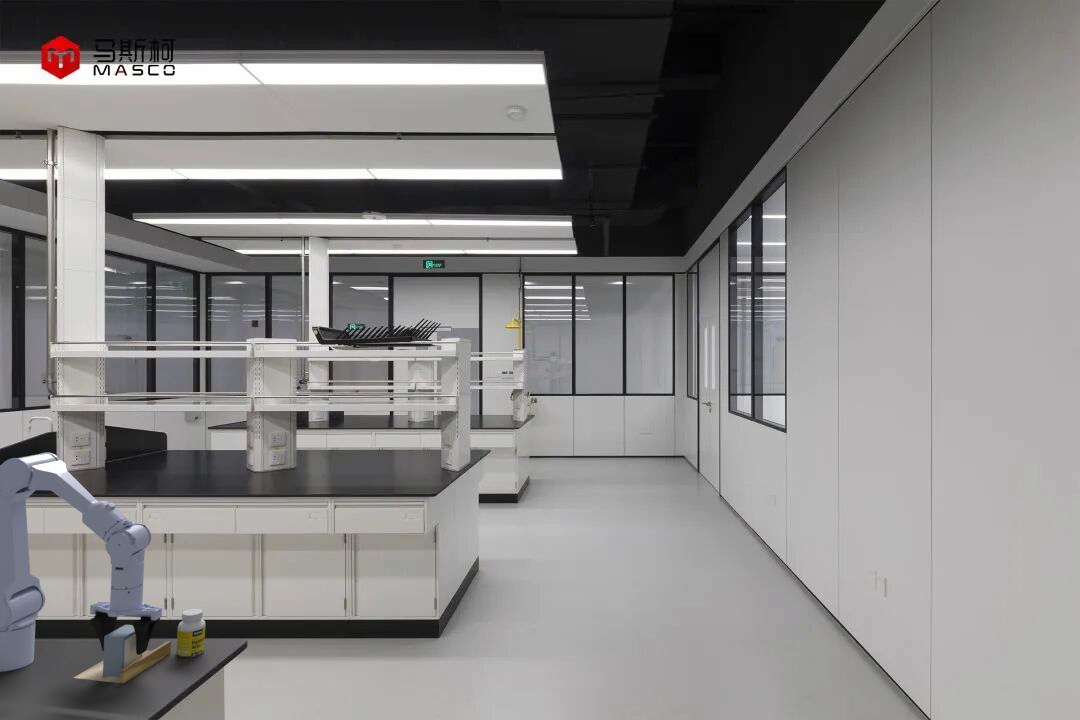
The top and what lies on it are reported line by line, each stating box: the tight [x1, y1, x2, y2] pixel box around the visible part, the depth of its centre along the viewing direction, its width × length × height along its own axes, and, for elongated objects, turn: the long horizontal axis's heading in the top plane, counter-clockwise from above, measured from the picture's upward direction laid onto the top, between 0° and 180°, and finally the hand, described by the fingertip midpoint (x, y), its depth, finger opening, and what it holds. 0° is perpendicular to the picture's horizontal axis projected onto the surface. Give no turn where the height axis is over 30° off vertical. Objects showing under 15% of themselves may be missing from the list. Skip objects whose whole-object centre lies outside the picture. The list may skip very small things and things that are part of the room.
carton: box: [102, 624, 142, 677], centre depth 139 cm, size 4×6×8 cm
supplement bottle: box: [175, 608, 206, 659], centre depth 148 cm, size 5×5×10 cm
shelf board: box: [73, 640, 172, 684], centre depth 141 cm, size 11×14×3 cm
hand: (124, 650), depth 139 cm, fingers open, 7 cm apart
